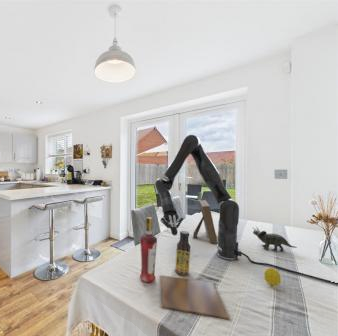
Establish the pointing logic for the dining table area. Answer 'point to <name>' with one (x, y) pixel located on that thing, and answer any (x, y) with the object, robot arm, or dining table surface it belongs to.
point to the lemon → (272, 276)
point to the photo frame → (206, 222)
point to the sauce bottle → (183, 254)
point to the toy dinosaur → (271, 240)
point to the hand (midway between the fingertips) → (175, 234)
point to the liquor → (148, 253)
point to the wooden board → (192, 297)
